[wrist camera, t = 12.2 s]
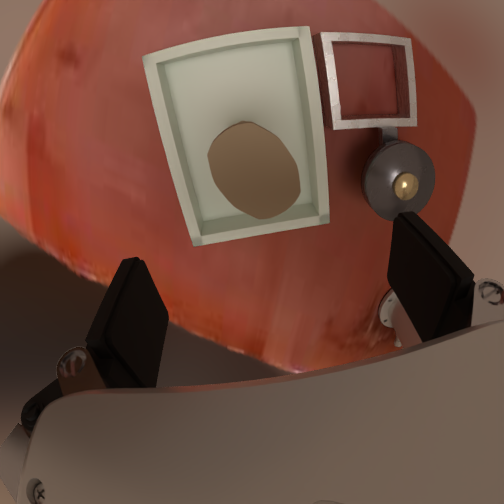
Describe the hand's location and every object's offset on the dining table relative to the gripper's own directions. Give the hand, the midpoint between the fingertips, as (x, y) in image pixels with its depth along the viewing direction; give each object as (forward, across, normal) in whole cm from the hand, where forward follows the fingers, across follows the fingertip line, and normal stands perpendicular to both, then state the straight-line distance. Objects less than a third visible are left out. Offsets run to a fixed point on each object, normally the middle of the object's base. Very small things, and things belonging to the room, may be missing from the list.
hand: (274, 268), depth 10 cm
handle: (+24, 0, 0) cm, 24 cm away
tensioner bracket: (+25, -15, -1) cm, 29 cm away
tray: (+25, 0, -1) cm, 25 cm away
